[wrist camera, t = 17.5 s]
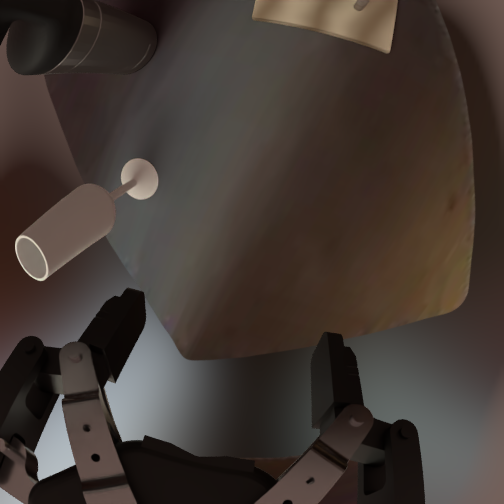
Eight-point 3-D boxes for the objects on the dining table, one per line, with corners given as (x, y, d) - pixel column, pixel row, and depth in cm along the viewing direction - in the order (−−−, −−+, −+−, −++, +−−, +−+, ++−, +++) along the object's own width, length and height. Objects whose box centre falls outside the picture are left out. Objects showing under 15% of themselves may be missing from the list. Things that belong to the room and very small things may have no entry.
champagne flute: (165, 172, 40) (60, 253, 19) (147, 207, 43) (53, 301, 22) (130, 150, 39) (11, 211, 18) (115, 185, 42) (8, 263, 21)
